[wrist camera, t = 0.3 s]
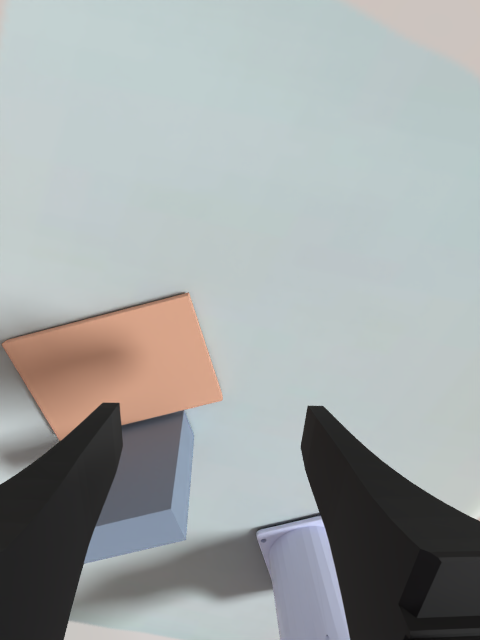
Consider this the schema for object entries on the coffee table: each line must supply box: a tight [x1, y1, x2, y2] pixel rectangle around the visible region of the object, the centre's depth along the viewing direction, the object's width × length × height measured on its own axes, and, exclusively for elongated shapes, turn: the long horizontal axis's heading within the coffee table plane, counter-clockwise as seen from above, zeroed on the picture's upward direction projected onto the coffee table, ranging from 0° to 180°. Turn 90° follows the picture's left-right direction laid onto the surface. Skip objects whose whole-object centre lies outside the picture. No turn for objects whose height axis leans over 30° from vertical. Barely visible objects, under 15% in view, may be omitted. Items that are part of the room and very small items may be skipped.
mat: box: [2, 293, 223, 441], centre depth 23 cm, size 8×12×1 cm, turn 104°
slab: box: [84, 410, 194, 564], centre depth 22 cm, size 2×6×8 cm, turn 104°
